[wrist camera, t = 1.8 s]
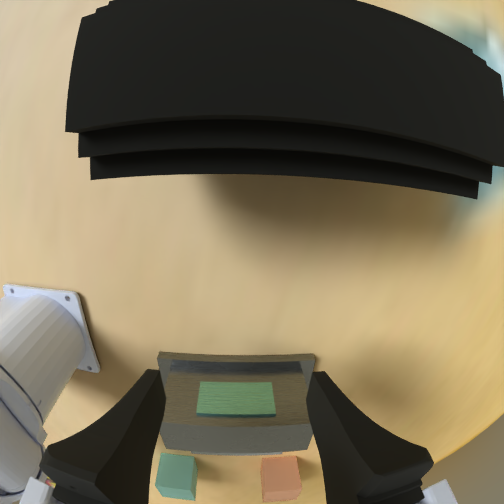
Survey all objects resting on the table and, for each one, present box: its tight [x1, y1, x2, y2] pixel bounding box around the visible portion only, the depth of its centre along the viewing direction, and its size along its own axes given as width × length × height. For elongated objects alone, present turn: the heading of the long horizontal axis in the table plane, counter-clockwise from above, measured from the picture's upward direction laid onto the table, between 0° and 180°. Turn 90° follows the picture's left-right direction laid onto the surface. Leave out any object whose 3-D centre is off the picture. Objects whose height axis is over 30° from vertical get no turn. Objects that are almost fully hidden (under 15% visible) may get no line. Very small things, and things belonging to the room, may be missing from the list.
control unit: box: [157, 352, 315, 453], centre depth 18 cm, size 12×5×6 cm, turn 88°
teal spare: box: [155, 453, 198, 501], centre depth 24 cm, size 4×4×5 cm
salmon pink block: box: [261, 456, 302, 502], centre depth 24 cm, size 4×4×5 cm
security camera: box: [65, 0, 504, 199], centre depth 10 cm, size 7×18×10 cm, turn 89°
